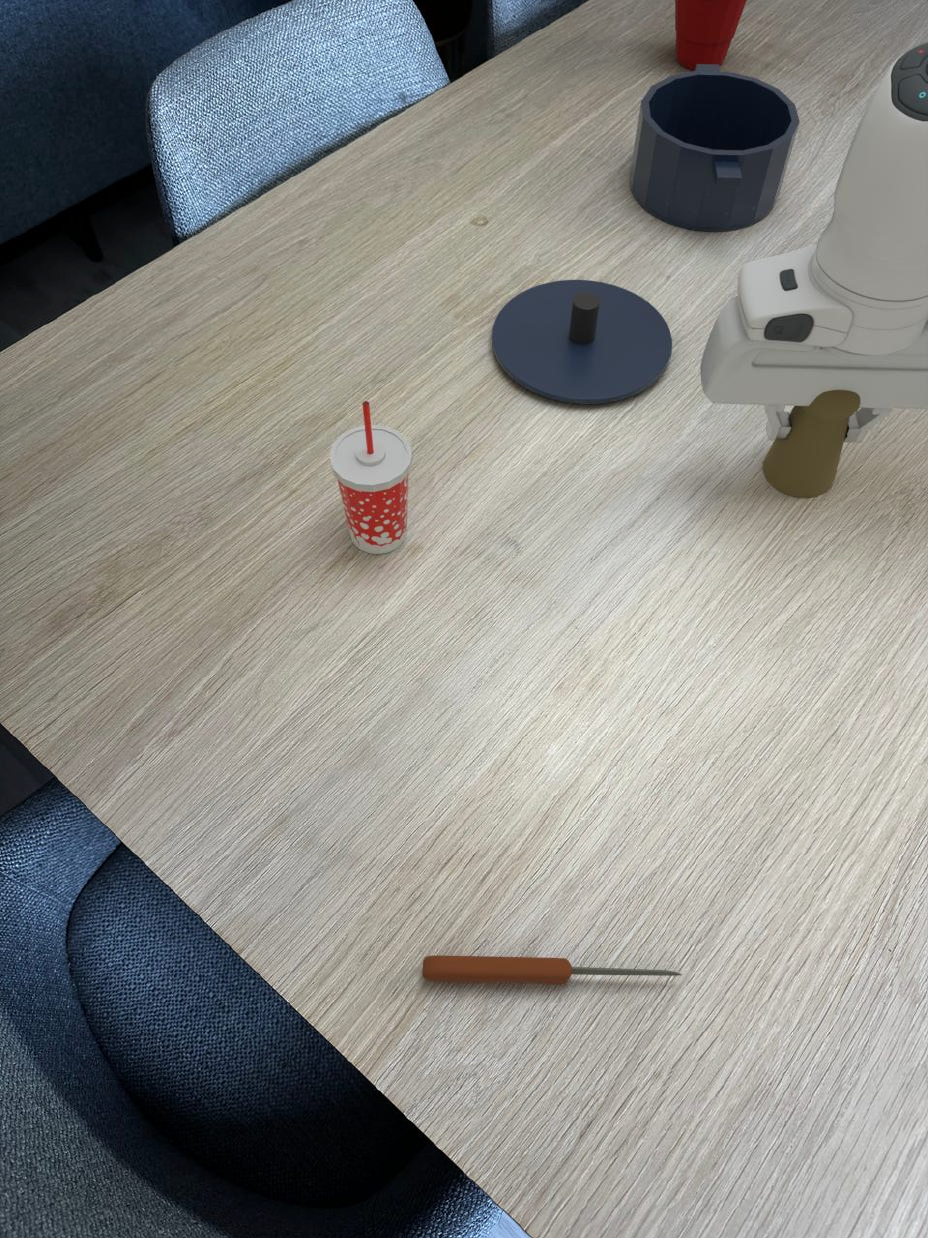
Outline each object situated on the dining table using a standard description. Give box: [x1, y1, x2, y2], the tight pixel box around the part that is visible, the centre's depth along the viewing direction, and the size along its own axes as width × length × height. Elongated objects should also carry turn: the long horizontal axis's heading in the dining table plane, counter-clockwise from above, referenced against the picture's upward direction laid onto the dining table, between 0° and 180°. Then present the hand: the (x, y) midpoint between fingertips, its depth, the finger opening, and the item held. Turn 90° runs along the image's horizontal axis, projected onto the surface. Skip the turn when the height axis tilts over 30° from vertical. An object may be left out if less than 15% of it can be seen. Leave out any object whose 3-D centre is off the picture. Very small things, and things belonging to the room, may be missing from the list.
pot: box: [629, 64, 801, 233], centre depth 108 cm, size 16×21×8 cm
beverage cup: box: [328, 400, 413, 555], centre depth 78 cm, size 6×6×14 cm
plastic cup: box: [674, 0, 748, 71], centre depth 122 cm, size 11×11×12 cm
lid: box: [491, 279, 673, 405], centre depth 94 cm, size 17×17×5 cm
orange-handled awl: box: [421, 954, 683, 986], centre depth 63 cm, size 16×1×2 cm, turn 89°
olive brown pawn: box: [762, 390, 860, 499], centre depth 83 cm, size 6×6×11 cm
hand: (811, 436), depth 84 cm, fingers closed on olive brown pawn, 4 cm apart
